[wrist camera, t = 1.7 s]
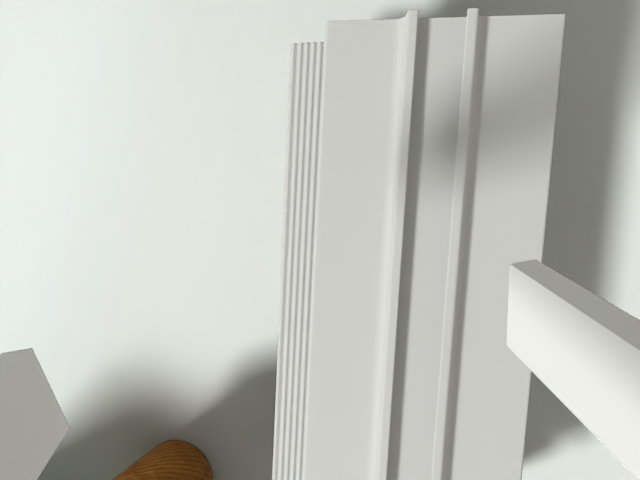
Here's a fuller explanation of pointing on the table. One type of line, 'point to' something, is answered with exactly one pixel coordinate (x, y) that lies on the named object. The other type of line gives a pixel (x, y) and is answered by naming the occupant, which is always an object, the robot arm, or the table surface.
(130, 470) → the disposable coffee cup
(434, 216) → the aluminum extrusion profile
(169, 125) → the table surface
